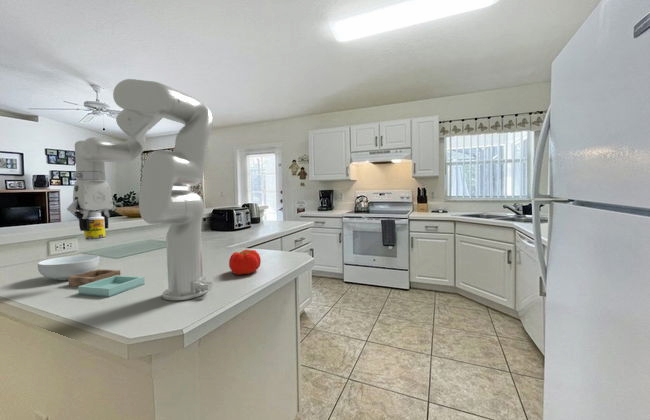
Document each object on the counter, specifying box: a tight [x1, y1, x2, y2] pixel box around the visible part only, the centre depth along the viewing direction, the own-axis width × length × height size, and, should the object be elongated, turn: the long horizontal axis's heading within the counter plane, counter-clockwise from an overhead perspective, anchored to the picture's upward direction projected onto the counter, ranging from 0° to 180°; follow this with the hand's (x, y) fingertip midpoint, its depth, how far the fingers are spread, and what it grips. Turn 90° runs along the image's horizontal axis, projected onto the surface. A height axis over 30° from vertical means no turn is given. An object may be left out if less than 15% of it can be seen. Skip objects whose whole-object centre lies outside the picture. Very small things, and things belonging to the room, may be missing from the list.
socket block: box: [68, 268, 121, 287], centre depth 95 cm, size 10×10×3 cm
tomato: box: [228, 249, 262, 276], centre depth 104 cm, size 13×12×8 cm
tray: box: [77, 275, 145, 298], centre depth 87 cm, size 12×12×2 cm
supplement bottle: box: [83, 210, 106, 242], centre depth 93 cm, size 6×6×10 cm
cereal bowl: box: [37, 254, 100, 281], centre depth 101 cm, size 17×17×7 cm
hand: (94, 229), depth 93 cm, fingers closed on supplement bottle, 5 cm apart
